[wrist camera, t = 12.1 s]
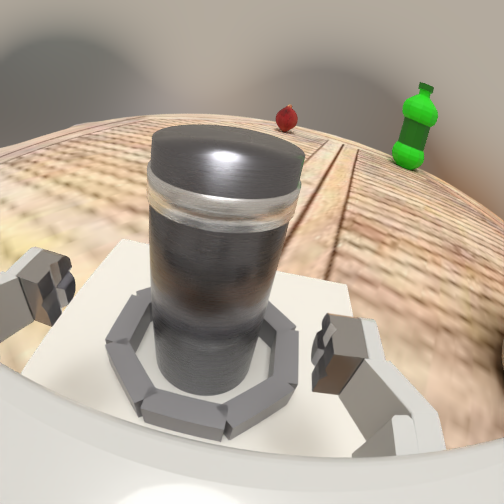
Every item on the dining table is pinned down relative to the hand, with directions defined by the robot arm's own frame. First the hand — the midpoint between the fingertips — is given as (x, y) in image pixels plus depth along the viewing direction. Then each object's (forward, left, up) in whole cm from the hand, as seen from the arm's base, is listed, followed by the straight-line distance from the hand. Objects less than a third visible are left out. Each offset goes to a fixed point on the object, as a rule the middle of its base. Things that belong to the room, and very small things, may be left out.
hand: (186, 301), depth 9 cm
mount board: (0, +3, -8) cm, 9 cm away
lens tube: (0, +3, -7) cm, 8 cm away
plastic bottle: (+38, +75, -8) cm, 85 cm away
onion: (+3, +78, -8) cm, 79 cm away
